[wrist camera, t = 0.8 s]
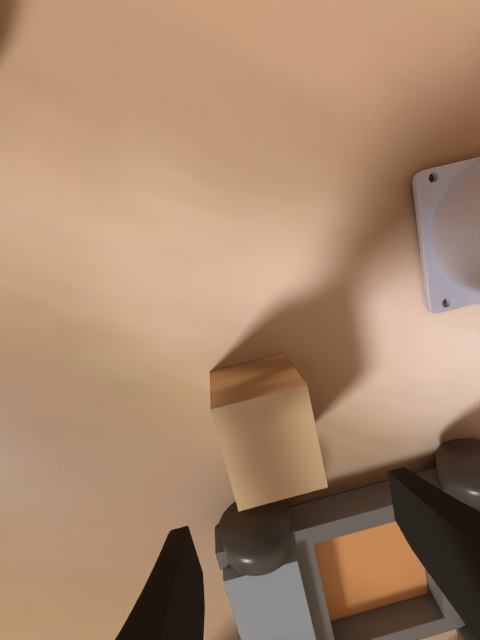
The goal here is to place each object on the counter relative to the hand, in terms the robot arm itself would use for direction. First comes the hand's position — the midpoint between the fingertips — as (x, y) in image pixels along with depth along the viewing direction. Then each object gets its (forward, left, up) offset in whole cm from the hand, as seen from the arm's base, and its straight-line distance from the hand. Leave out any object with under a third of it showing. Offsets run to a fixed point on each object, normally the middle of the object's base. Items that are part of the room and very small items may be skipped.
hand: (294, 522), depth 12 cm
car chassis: (-5, +13, -9) cm, 17 cm away
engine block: (0, 0, -9) cm, 9 cm away
